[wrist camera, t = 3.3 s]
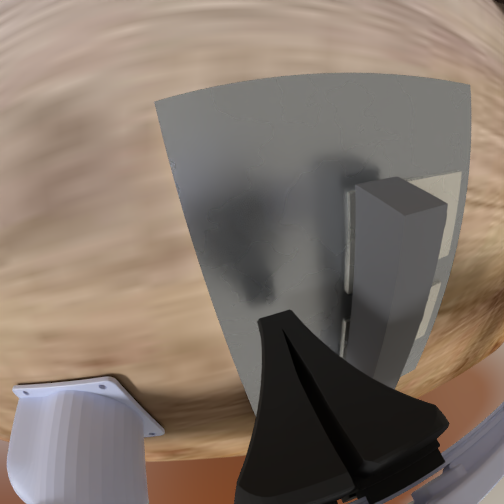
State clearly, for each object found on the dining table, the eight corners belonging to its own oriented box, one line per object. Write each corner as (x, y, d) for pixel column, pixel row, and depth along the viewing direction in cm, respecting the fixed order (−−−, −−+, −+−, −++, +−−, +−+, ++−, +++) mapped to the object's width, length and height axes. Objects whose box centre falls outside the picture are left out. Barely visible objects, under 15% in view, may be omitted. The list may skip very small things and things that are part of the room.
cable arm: (329, 412, 19) (346, 447, 16) (339, 186, 10) (399, 228, 7) (366, 397, 19) (384, 429, 16) (406, 173, 10) (468, 206, 7)
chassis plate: (258, 420, 20) (262, 434, 19) (157, 101, 8) (153, 101, 7) (409, 361, 21) (416, 371, 20) (455, 82, 10) (474, 85, 8)
